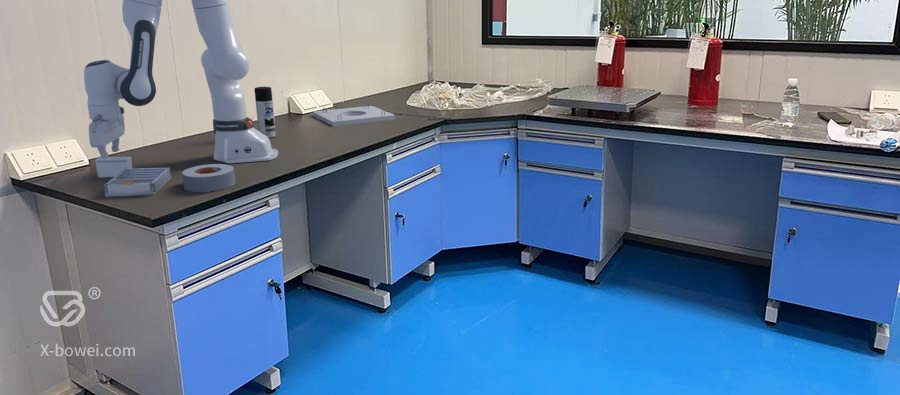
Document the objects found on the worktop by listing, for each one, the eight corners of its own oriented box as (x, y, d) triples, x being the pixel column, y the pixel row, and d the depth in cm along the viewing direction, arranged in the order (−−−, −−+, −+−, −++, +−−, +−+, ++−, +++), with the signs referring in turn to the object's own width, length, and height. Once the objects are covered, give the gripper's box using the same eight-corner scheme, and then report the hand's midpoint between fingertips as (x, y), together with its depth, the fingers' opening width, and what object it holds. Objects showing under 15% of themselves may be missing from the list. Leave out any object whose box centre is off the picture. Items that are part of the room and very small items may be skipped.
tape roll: (175, 185, 208) (173, 169, 206) (221, 175, 218) (219, 160, 217) (197, 196, 198) (195, 180, 196) (244, 185, 208) (242, 170, 206)
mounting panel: (312, 106, 310) (371, 100, 324) (313, 117, 312) (372, 111, 326) (332, 116, 288) (395, 109, 302) (333, 127, 290) (395, 120, 304)
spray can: (266, 139, 267) (262, 89, 260) (255, 137, 270) (250, 88, 264) (279, 136, 272) (275, 87, 266) (267, 134, 275) (263, 85, 269)
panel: (133, 174, 220) (130, 156, 218) (130, 176, 217) (127, 158, 215) (101, 174, 219) (98, 157, 217) (98, 177, 216) (95, 159, 214)
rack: (171, 177, 215) (170, 165, 214) (154, 195, 198) (152, 181, 197) (126, 179, 213) (124, 167, 212) (105, 196, 196) (103, 183, 195)
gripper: (102, 118, 201) (108, 162, 205) (126, 107, 221) (131, 147, 225) (80, 118, 201) (87, 163, 205) (106, 107, 220) (111, 147, 224)
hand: (110, 154), depth 215 cm, fingers open, 8 cm apart
